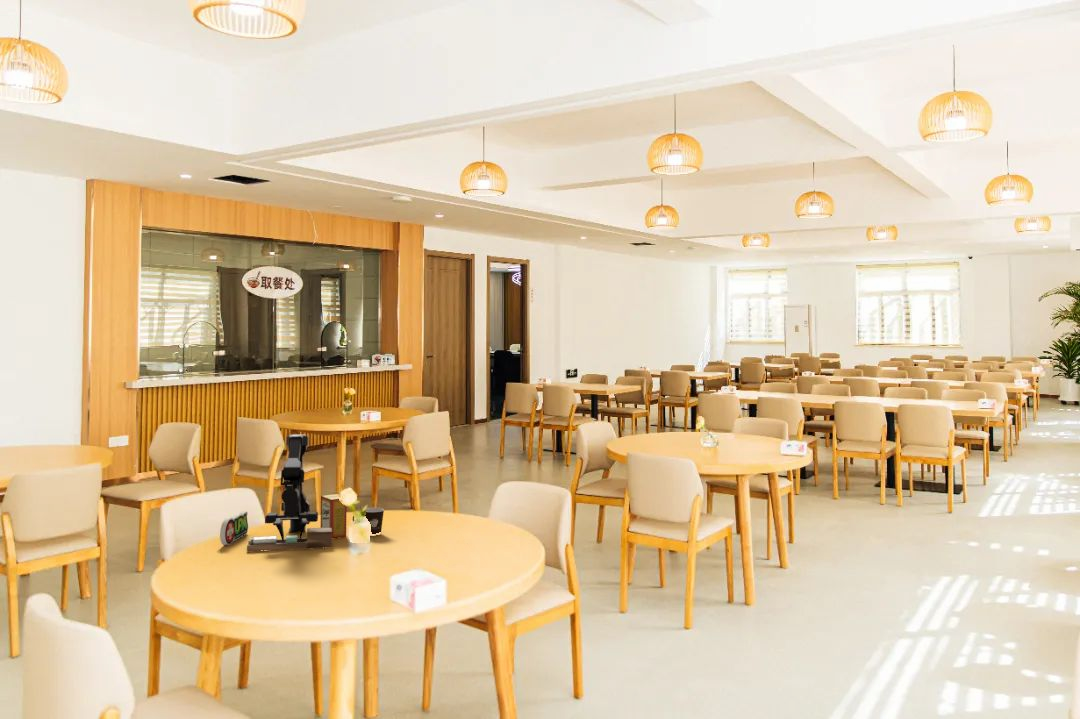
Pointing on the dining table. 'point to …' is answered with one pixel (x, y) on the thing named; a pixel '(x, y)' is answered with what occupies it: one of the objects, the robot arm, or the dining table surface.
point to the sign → (233, 528)
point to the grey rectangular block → (263, 540)
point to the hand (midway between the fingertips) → (291, 540)
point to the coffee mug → (374, 519)
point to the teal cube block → (291, 539)
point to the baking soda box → (333, 515)
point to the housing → (299, 541)
